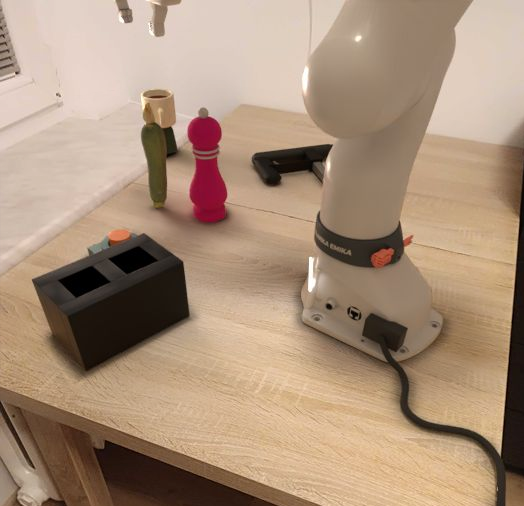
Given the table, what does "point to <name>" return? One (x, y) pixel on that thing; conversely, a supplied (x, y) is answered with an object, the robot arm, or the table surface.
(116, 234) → the button
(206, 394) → the table surface
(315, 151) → the door handle
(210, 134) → the pepper mill
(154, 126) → the vegetable
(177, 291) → the toaster
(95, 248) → the panel
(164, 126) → the character mug
